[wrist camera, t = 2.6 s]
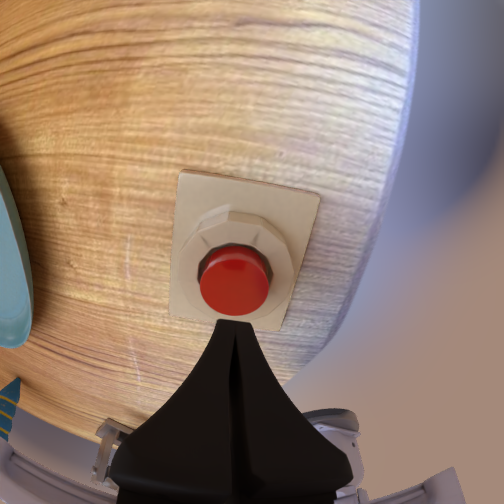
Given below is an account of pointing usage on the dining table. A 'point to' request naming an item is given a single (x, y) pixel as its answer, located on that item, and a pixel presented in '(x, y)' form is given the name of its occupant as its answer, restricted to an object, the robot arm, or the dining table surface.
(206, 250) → the button block
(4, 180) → the teal plate
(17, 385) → the ornament
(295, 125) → the dining table surface
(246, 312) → the button
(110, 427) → the bracket
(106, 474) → the lever
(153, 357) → the dining table surface
